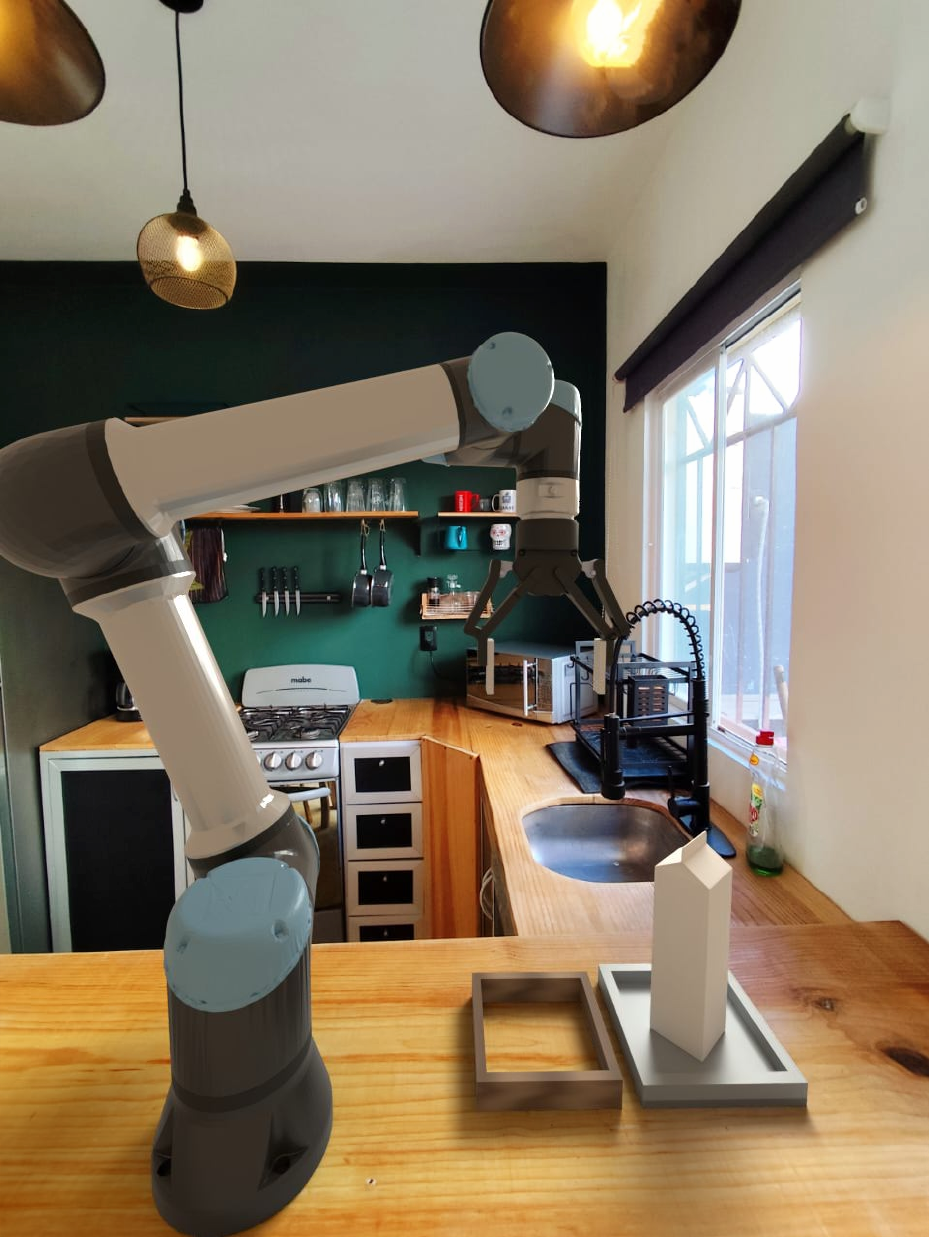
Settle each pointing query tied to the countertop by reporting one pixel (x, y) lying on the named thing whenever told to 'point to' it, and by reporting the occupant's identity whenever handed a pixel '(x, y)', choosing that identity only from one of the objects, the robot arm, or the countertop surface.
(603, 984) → the tray
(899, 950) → the countertop surface
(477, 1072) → the frame
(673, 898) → the milk
